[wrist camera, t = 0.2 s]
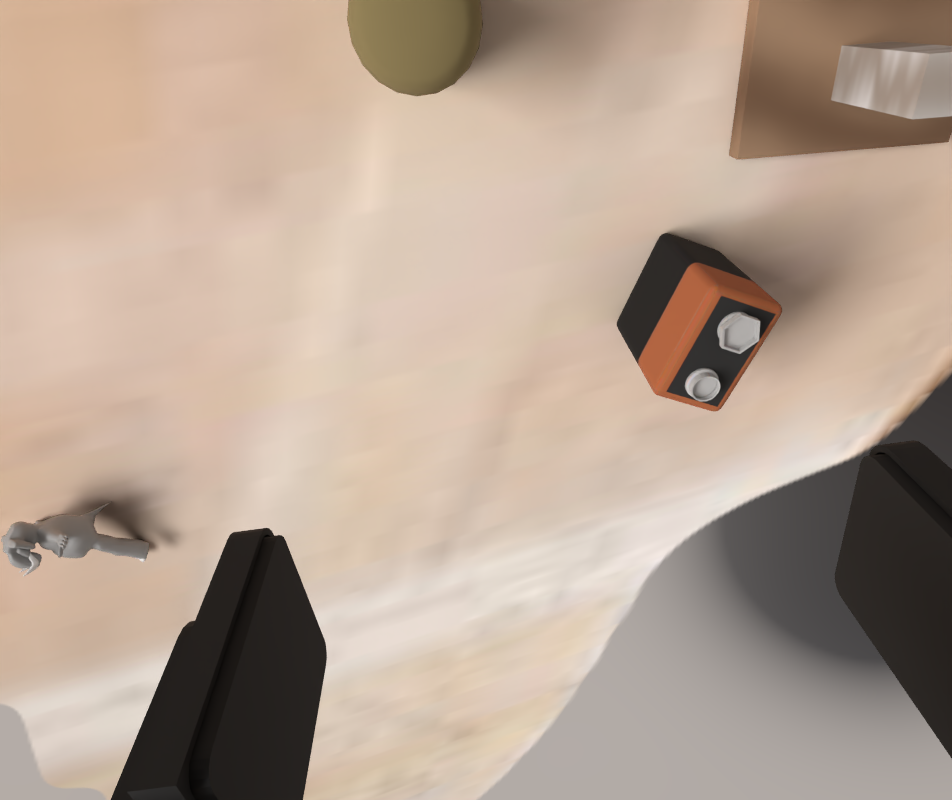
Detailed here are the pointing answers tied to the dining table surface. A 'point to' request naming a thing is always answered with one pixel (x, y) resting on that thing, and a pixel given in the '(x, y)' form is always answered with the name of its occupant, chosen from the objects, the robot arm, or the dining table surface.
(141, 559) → the grey animal figurine
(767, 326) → the battery
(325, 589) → the dining table surface
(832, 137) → the peg stand
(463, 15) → the cork
